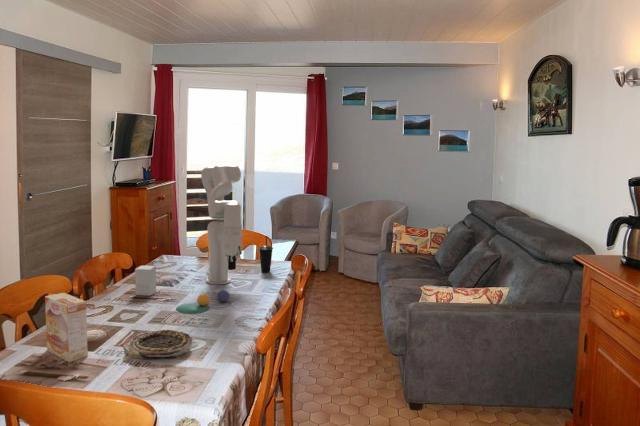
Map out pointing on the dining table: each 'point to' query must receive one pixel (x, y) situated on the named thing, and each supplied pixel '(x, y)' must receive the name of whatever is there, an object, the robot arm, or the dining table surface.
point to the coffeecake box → (66, 326)
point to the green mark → (192, 308)
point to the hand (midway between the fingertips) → (231, 269)
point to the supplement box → (145, 280)
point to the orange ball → (203, 299)
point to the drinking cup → (265, 257)
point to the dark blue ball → (223, 296)
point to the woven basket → (158, 345)
